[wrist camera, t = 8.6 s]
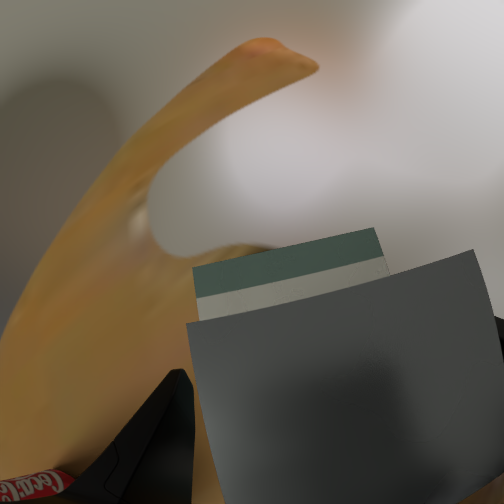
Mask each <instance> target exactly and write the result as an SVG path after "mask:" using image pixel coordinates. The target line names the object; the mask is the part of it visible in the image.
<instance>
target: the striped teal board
mask: <svg viewBox="0 0 504 504" xmlns="http://www.w3.org/2000/svg"><path fill="white" fill-rule="evenodd" d="M192 269H193V277H194V285H195V292H196V299H197V306H198V313H199V319H200V321H203V320H208V319H213V318H218V317H223V316H228V315H233V314H238V313H243V312H247V311H252V310H257V309H261V308H266V307H270V306H275V305H279V304H283V303H288V302H292V301H296V300H300V299H305V298H309V297H313V296H317V295H321V294H325V293H329V292H333V291H336V290H340V289H344V288H348V287H351V286H355V285H359V284H363V283H366V282H370V281H373V280H377V279H380V278H384V277H387V276H390V273H389V270H388V267H387V264H386V261H385V258H384V255H383V252H382V249H381V247H380V244H379V241H378V238H377V235H376V232H375V230H374V228H368V229H364V230H360V231H355V232H350V233H346V234H342V235H338V236H333V237H328V238H324V239H319V240H315V241H310V242H306V243H301V244H297V245H292V246H288V247H283V248H279V249H274V250H270V251H265V252H261V253H256V254H252V255H247V256H243V257H238V258H234V259H229V260H225V261H220V262H215V263H211V264H206V265H202V266H197V267H193V268H192Z"/></svg>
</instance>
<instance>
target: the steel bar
mask: <svg viewBox="0 0 504 504" xmlns="http://www.w3.org/2000/svg"><path fill="white" fill-rule="evenodd" d="M186 326H187V332H188V339H189V345H190V351H191V357H192V362H193V368H194V373H195V379H196V384H197V389H198V394H199V399H200V404H201V409H202V413H203V418H204V423H205V427H206V431H207V436H208V440H209V444H210V448H211V452H212V456H213V460H214V464H215V468H216V472H217V475H218V479H219V483H220V486H221V490H222V493H223V497H224V500H225V504H456V503H458V502H460V501H462V500H463V499H465V498H467V497H468V496H470V495H471V494H473V493H475V492H476V491H478V490H479V489H481V488H482V487H484V486H485V485H487V484H488V483H489V482H491V481H492V480H494V479H495V478H496V477H498V476H499V475H501V474H502V473H503V472H504V363H503V356H502V351H501V345H500V340H499V335H498V331H497V326H496V322H495V318H494V314H493V310H492V306H491V302H490V299H489V295H488V292H487V288H486V285H485V282H484V279H483V276H482V273H481V270H480V267H479V264H478V261H477V258H476V256H475V253H474V250H473V249H472V250H469V251H466V252H463V253H460V254H458V255H455V256H452V257H449V258H446V259H443V260H439V261H436V262H433V263H430V264H427V265H424V266H421V267H417V268H414V269H411V270H408V271H404V272H401V273H398V274H394V275H391V276H387V277H384V278H380V279H377V280H373V281H370V282H366V283H363V284H359V285H355V286H351V287H348V288H344V289H340V290H336V291H333V292H329V293H325V294H321V295H317V296H313V297H309V298H305V299H300V300H296V301H292V302H288V303H283V304H279V305H275V306H270V307H266V308H261V309H257V310H252V311H247V312H243V313H238V314H233V315H228V316H223V317H218V318H213V319H208V320H203V321H197V322H192V323H186Z"/></svg>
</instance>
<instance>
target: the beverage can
mask: <svg viewBox="0 0 504 504" xmlns="http://www.w3.org/2000/svg"><path fill="white" fill-rule="evenodd" d="M73 481H75V479H74V478H73V477H71V476H70V475H68V474H66V473H64V472H62V471H60V470H53V469H49V470H45V471H41V472H38V473H34V474H30V475H26V476H21V477H17V478H12V479H8V480H2V481H0V501H5V502H6V501H18V500H26V499H33V498H40V497H46V496H51V495H55V494H57V493H59V492H61V491H63V490H64V489H66V488H67V487H68V486H69V485H70V484H71V483H72V482H73Z"/></svg>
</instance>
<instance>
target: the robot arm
mask: <svg viewBox="0 0 504 504" xmlns="http://www.w3.org/2000/svg"><path fill="white" fill-rule="evenodd" d="M494 318H495V322H496V326H497V331H498V335H499V340H500V345H501V351H502V356H503V363H504V319H501V318H498V317H496V316H494ZM194 442H195V412H194V390H193V385H192V383H191V381H190V379H189V378H188V376H187V374H186V372H185V370H184V369H173V370H171V371H170V372H169V373H168V374H167V375H166V377H165V378H164V379H163V380H162V382H161V383H160V384H159V385H158V386H157V388H156V389H155V390H154V391H153V393H152V394H151V395H150V396H149V397H148V399H147V400H146V401H145V402H144V404H143V405H142V406H141V407H140V408H139V410H138V411H137V412H136V413H135V414H134V416H133V417H132V418H131V419H130V420H129V422H128V423H127V424H126V425H125V427H124V428H123V429H122V430H121V431H120V433H119V434H118V435H117V436H116V437H115V439H114V441H112V442H111V443H110V444H109V446H108V447H107V448H106V449H105V450H104V451H103V453H102V454H101V455H100V456H99V457H98V458H97V459H96V460H95V461H94V462H93V463H92V464H91V465H90V466H89V467H88V468H87V469H86V470H85V471H84V472H83V473H82V474H81V475H80V476H79V477H78V478H77V479H76V480H75V481H73V482H72V483H71V484H70V485H69V486H68V487H67V488H66V489H64V490H63V491H61V492H59V493H57V494H55V495H51V496H46V497H40V498H33V499H26V500H18V501H6V502H5V501H0V504H191V497H192V476H193V458H194Z"/></svg>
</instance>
